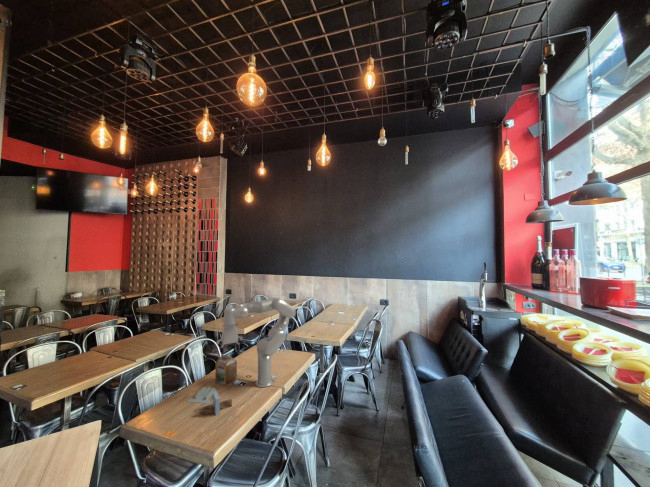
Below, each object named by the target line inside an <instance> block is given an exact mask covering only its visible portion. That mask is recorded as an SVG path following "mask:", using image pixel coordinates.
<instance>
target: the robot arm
mask: <svg viewBox="0 0 650 487" xmlns="http://www.w3.org/2000/svg"><path fill="white" fill-rule="evenodd" d="M274 310H275V311H277V312H278V313H279V315H278V316H279V318H278V320H277V321H276V322H275V324H274V325H273V326H272V327H271V328H270V330H269V331H268V334H267V337H268V338H269V339H270V340H269V339H268V338H261V339H259V340H258V342H257V344H256V352H257V380H256V381H255V385H256V387H259V388H267V387H270V386H272V385H273V384H274V379H278V375H275V374H273V375H272V356H273V355H274V354H275V353H277V351H278V350H279V349H280V347H281V346H282V345H283V343H284V342H285V340H286V336H287V334H286V332H285V330H286V329H287V327H288V325H289V323H290V319H293V318H294V317H295V316H296V314H297V313H296V309H295V308H294V307H293V306H292V305H290V304H289V303H287V302H286V301H285V300H283V299H281V298H277V297H272V298H267V299H264V300H260V301H258V300H257V301H253V302H252V301H251V302H245V303H242V304H241V303H240V304H237V305H235V306H234V307H227V308H225V309H224V310H223V316H224V318H223V328H222V330H221V338H220V339H218V340H216V341H215V343H216V344H217V346H218V347H219V348H220V353H221V354H223V355H224V346H225V345H231V344H235V351H236V352H238V351H239V349H240V344H241V343H242V341H243V339H244V337H243V336H241V335H239V334H238V333H239V332H238V327H237V326H238V325H239V324H238V323H237V319H243V318H246V317H247V316H248V315H249V314H250V313H252V314H253V313H255V314H261V313H266V312H270V311H274ZM220 342H221V343H220Z"/></svg>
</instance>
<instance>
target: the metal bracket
mask: <svg viewBox="0 0 650 487" xmlns="http://www.w3.org/2000/svg"><path fill="white" fill-rule="evenodd" d="M217 389H218V388H214V387H211V386H208V387H204V386H202V387H201V388H200V390H199V391H198V392H197V393H195V395H194V397H190V398H189V399H188V400H187V403H191V404H192V403H196V404H203V405H210V403H211V401H212V399H211V397H213V392H216V391H217Z"/></svg>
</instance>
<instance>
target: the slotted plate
mask: <svg viewBox="0 0 650 487" xmlns="http://www.w3.org/2000/svg"><path fill="white" fill-rule="evenodd" d="M220 402H221V398H220V395H219V393H218V391H217V390H216V391H215V392H213V395H212V404H213V407H215V412H214V415H215V416H218V415H221V414H220V412H221V410H220Z"/></svg>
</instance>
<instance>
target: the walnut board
mask: <svg viewBox="0 0 650 487" xmlns="http://www.w3.org/2000/svg"><path fill="white" fill-rule="evenodd" d="M232 403H233V400H232V398H230V399H226V400H223V401H220V411H221V410H224V409H228V408H232V407H233V406H232V405H233V404H232ZM198 413H199V414H198V415H199V417H201V416H205V415H208V414H211V413H215V407H213V403H212V404H207V405H205V406H202V407H199V412H198Z"/></svg>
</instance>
